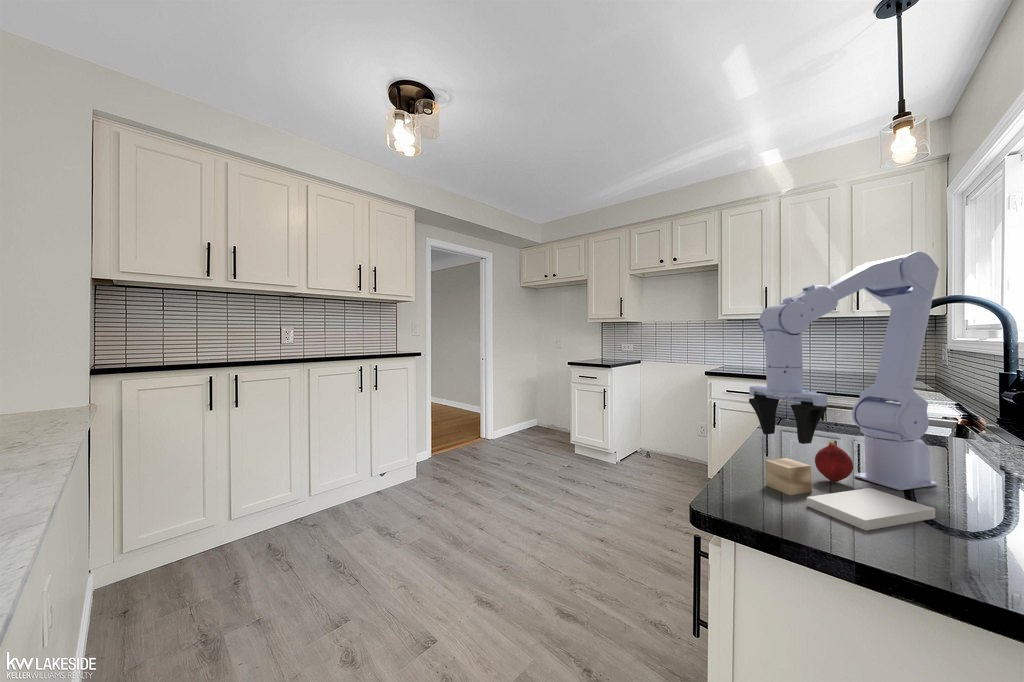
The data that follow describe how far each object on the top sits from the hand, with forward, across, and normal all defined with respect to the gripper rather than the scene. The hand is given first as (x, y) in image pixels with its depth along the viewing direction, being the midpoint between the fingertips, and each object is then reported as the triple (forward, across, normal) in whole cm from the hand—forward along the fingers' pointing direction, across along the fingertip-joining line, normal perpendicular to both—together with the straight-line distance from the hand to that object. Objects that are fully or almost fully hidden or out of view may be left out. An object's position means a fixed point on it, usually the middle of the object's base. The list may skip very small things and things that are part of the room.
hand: (785, 438), depth 73 cm
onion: (+10, 0, +11) cm, 15 cm away
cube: (+10, 0, 0) cm, 10 cm away
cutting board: (+10, +12, +3) cm, 15 cm away
